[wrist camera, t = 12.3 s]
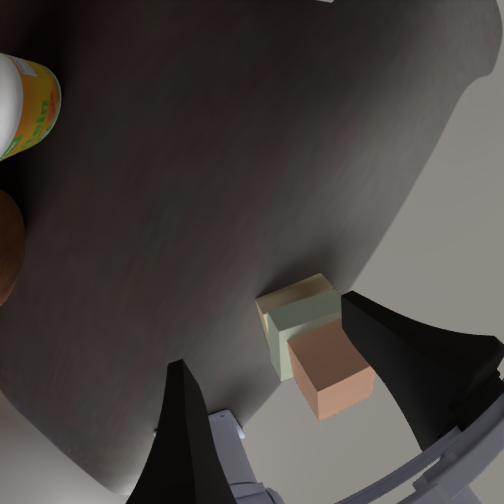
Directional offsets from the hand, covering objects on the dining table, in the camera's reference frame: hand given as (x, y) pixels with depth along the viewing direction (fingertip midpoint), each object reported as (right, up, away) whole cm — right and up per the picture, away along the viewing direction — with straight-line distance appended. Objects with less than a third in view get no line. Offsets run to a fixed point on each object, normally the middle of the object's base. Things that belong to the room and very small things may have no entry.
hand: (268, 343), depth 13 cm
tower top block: (+3, -2, +12) cm, 13 cm away
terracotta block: (+4, -4, +10) cm, 12 cm away
